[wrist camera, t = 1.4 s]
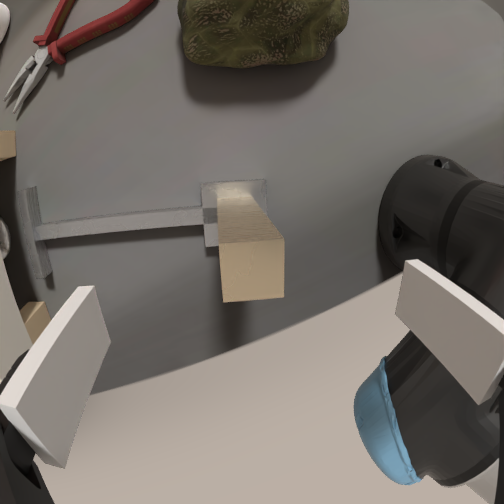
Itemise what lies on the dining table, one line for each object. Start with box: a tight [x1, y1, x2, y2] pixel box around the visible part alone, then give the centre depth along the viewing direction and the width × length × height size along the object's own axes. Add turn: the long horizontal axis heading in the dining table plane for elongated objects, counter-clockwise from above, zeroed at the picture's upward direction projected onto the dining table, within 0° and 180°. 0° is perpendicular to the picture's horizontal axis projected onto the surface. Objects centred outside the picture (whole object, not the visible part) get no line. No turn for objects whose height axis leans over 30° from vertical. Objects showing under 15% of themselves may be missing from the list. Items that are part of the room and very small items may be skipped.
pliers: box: [3, 0, 154, 114], centre depth 19 cm, size 12×20×3 cm, turn 134°
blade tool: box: [18, 179, 284, 302], centre depth 21 cm, size 26×10×15 cm, turn 92°
